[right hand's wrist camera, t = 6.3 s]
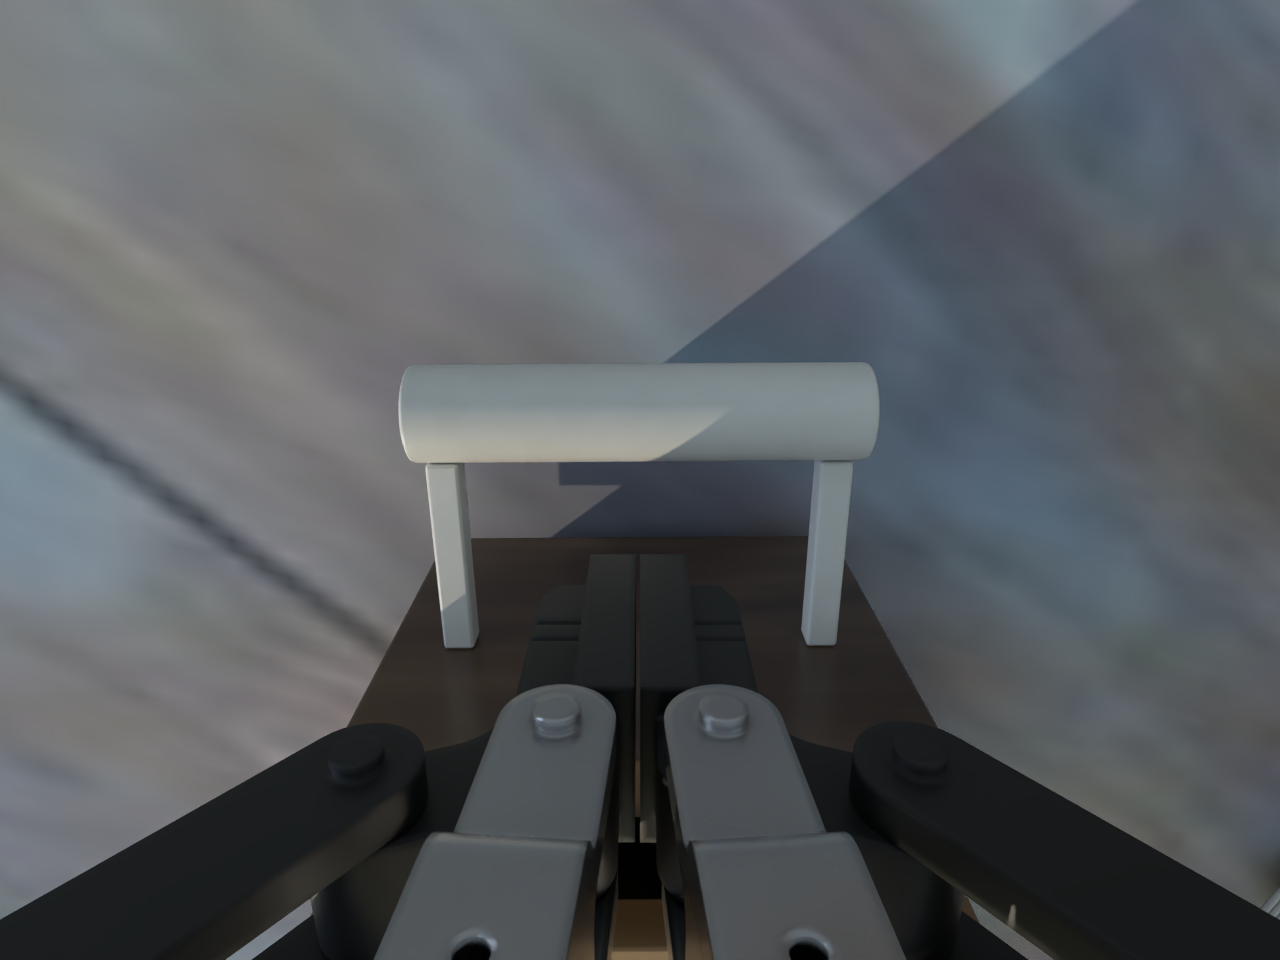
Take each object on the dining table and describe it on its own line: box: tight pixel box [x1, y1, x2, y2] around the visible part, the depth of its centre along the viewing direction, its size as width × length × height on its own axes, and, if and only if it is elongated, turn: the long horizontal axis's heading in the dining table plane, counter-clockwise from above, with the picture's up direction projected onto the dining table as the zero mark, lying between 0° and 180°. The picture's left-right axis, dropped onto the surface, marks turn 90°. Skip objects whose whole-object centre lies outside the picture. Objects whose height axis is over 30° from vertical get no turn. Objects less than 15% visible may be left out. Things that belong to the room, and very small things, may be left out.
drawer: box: [347, 362, 938, 899], centre depth 18 cm, size 21×10×8 cm, turn 0°
